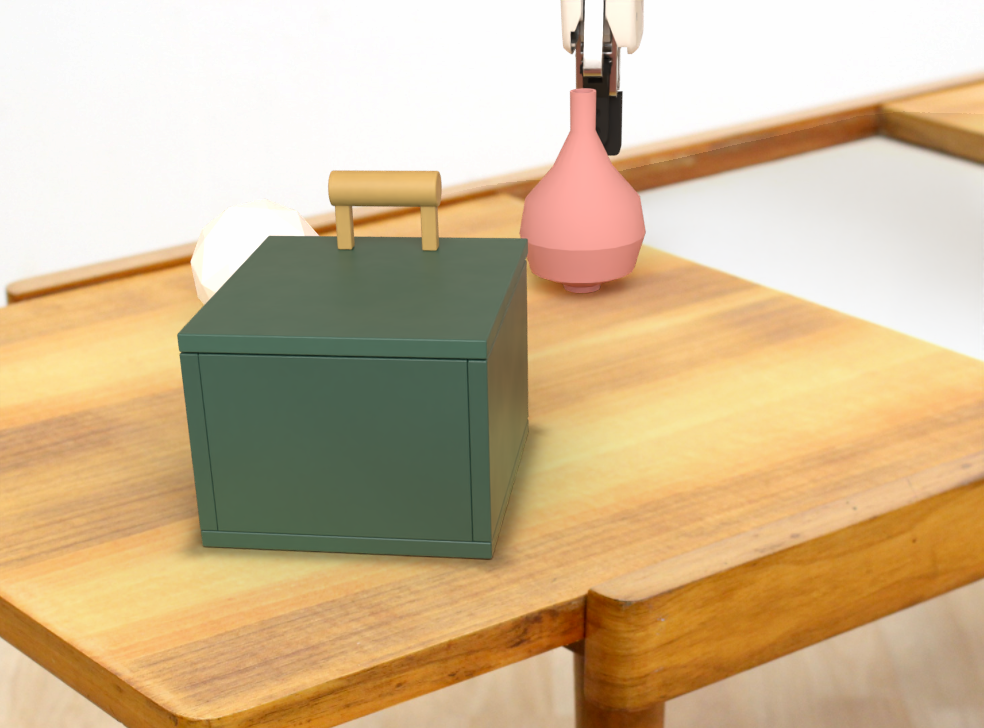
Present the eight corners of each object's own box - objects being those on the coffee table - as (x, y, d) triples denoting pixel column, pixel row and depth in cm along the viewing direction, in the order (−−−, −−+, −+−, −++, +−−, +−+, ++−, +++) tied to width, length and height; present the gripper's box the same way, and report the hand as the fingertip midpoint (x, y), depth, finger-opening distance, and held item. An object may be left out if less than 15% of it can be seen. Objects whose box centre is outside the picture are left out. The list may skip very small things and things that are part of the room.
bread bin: (281, 424, 79) (266, 255, 75) (528, 432, 77) (526, 259, 73) (201, 547, 67) (178, 353, 63) (492, 559, 65) (487, 361, 61)
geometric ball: (271, 385, 91) (223, 308, 84) (197, 311, 95) (145, 230, 88) (369, 304, 92) (329, 221, 85) (291, 233, 96) (248, 148, 89)
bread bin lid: (269, 251, 75) (261, 160, 73) (528, 254, 73) (527, 160, 71) (178, 352, 63) (165, 246, 61) (487, 359, 61) (484, 250, 59)
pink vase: (633, 309, 93) (637, 105, 87) (508, 303, 94) (505, 103, 89) (652, 271, 99) (656, 79, 94) (535, 266, 101) (533, 77, 96)
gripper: (655, -131, 91) (647, 180, 99) (665, -148, 104) (656, 128, 112) (528, -128, 92) (530, 179, 101) (553, -145, 105) (553, 128, 114)
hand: (597, 152), depth 107 cm, fingers closed
